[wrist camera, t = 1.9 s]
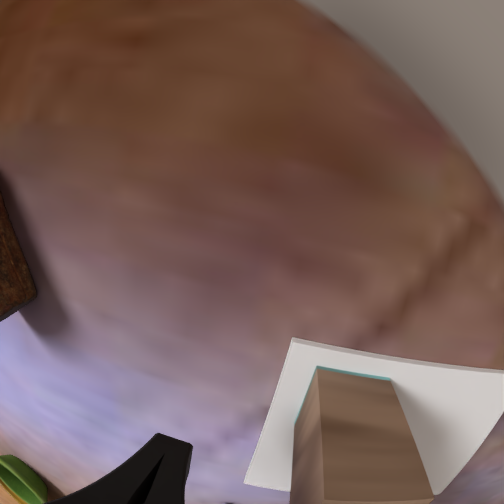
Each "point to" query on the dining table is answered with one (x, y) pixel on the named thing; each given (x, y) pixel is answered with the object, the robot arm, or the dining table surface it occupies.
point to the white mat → (410, 397)
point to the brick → (12, 270)
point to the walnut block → (355, 444)
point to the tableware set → (21, 481)
